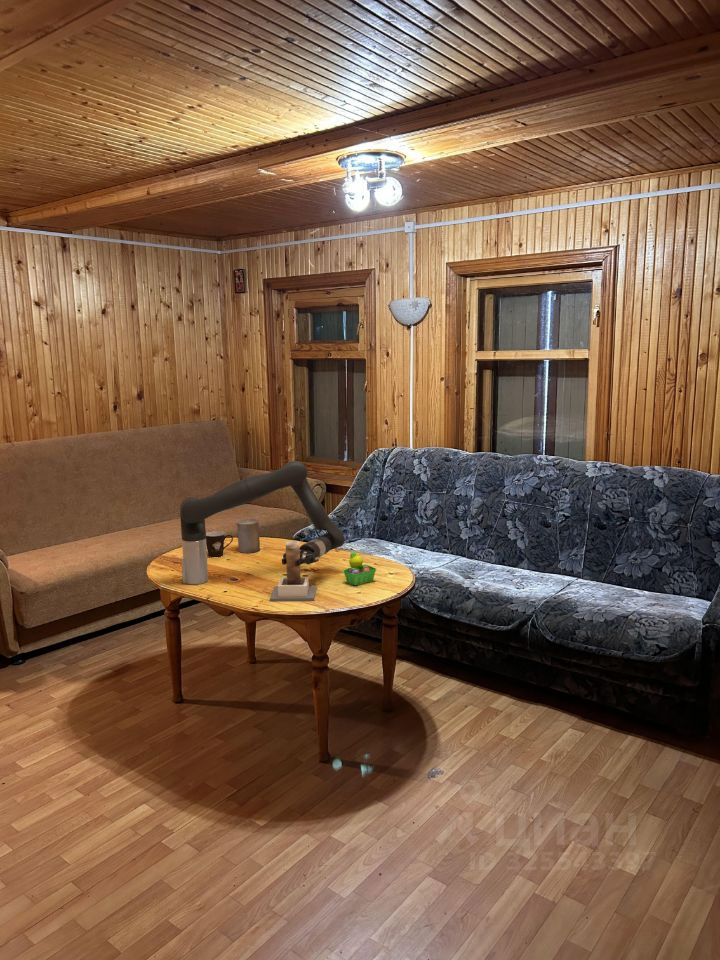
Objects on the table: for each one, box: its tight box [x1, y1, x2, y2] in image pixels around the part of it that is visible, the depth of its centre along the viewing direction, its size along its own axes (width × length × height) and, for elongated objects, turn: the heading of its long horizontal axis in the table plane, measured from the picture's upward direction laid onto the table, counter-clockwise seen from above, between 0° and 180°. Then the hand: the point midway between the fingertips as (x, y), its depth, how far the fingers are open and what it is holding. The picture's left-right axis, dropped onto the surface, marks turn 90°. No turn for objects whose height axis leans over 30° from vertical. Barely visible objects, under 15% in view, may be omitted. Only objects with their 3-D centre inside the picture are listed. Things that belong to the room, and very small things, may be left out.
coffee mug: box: [206, 531, 234, 558], centre depth 322 cm, size 12×9×10 cm
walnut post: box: [285, 540, 302, 585], centre depth 268 cm, size 5×5×16 cm
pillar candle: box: [236, 518, 261, 554], centre depth 329 cm, size 10×10×15 cm
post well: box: [269, 576, 318, 602], centre depth 270 cm, size 16×14×5 cm
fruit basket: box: [342, 551, 377, 586], centre depth 284 cm, size 11×9×11 cm
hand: (289, 562), depth 266 cm, fingers closed on walnut post, 5 cm apart
